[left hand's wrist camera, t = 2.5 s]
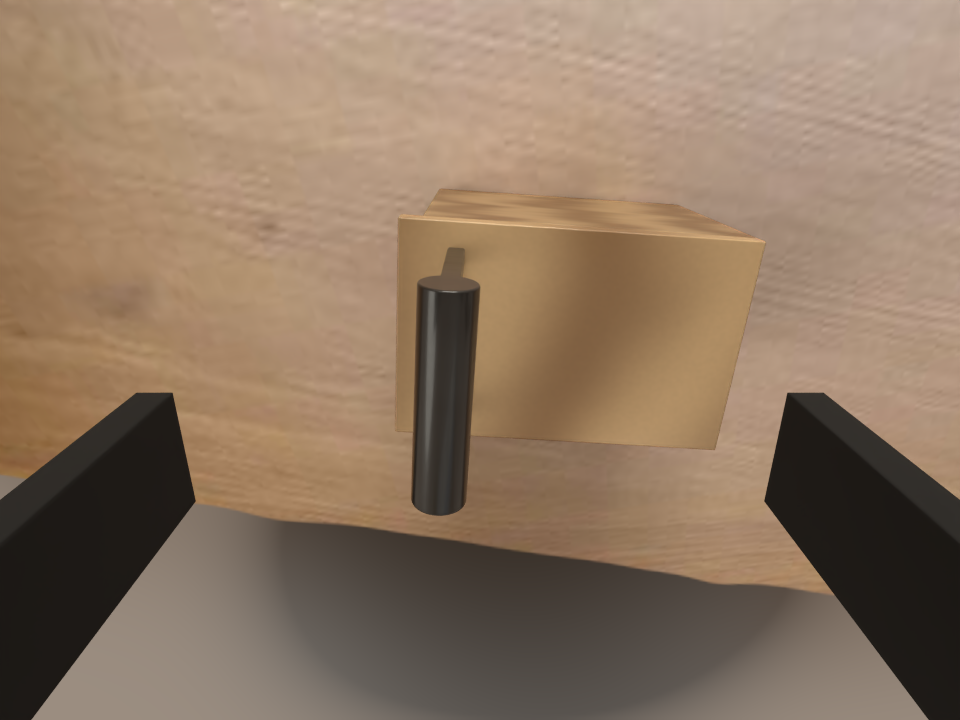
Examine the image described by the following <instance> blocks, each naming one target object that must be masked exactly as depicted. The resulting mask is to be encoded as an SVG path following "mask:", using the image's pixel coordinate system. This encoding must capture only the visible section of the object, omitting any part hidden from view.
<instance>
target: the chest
mask: <svg viewBox="0 0 960 720" xmlns="http://www.w3.org/2000/svg"><path fill="white" fill-rule="evenodd" d="M423 216H433V217H448V218H463V219H478V220H493V221H508V222H523V223H538V224H553V225H568V226H583V227H598V228H613V229H628V230H643V231H658V232H673V233H688V234H703V235H718V236H733V237H748V238H755V237H753V236H750V235H748V234H746V233H743V232H741V231H738V230H736V229H734V228H731V227H729V226H726V225H724V224H722V223H719V222H717V221H715V220H712V219H710V218H707V217H705V216H703V215H700V214H698V213H695V212H693V211H691V210H688V209H686V208H684V207H681V206H679V205H670V204H655V203H640V202H625V201H611V200H596V199H581V198H566V197H552V196H537V195H522V194H507V193H493V192H478V191H463V190H448V189H439V191H438V193H437V194H436V196H435V197H434V199H433V201H432V202H431V204H430V206H429V207H428V209H427V210H426V212H425V214H424V215H423Z"/></svg>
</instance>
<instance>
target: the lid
mask: <svg viewBox="0 0 960 720" xmlns="http://www.w3.org/2000/svg"><path fill="white" fill-rule="evenodd" d="M765 244H766V242H765V241H762V240H760V239H758V238H748V237H733V236H718V235H703V234H688V233H673V232H658V231H643V230H628V229H613V228H598V227H583V226H568V225H553V224H538V223H523V222H508V221H493V220H478V219H463V218H448V217H433V216H418V215H403V214H402V215H400V216H399V218H398V261H397V335H396V410H395V431H396V432H413V449H412V487H411V500H412V503H413V505H414V506H415V507H416V508H417V509H418V510H420V511H421V512H423V513H426V514H429V515H436V516H442V515H449V514H453V513H455V512H457V511H459V510H460V509H461V508H462V507H463V506H464V504H465V502H466V495H467V480H468V466H469V451H470V436H482V437H500V438H517V439H534V440H551V441H568V442H586V443H603V444H620V445H637V446H654V447H672V448H689V449H706V450H715V447H716V443H717V439H718V435H719V431H720V427H721V423H722V419H723V415H724V411H725V407H726V403H727V399H728V395H729V390H730V386H731V382H732V378H733V374H734V370H735V366H736V362H737V358H738V354H739V350H740V346H741V342H742V338H743V334H744V329H745V325H746V321H747V317H748V313H749V309H750V305H751V301H752V297H753V293H754V289H755V285H756V281H757V277H758V273H759V269H760V264H761V260H762V256H763V252H764V248H765Z"/></svg>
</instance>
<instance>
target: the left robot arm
mask: <svg viewBox="0 0 960 720" xmlns="http://www.w3.org/2000/svg"><path fill="white" fill-rule="evenodd" d="M195 501H196V500H195V496H194V491H193V486H192V482H191V477H190V472H189V468H188V463H187V458H186V454H185V449H184V444H183V440H182V435H181V430H180V426H179V421H178V416H177V412H176V407H175V402H174V398H173V393H136V394H134V395H133V396H132V397H131V398H129V399H128V400H127V401H126V402H124V403H123V404H122V405H120V406H119V407H118V408H117V409H115V410H114V411H113V412H112V413H110V414H109V415H108V416H106V417H105V418H104V419H103V420H101V421H100V422H99V423H98V424H96V425H95V426H94V427H92V428H91V429H90V430H89V431H87V432H86V433H85V434H83V435H82V436H81V437H80V438H78V439H77V440H76V441H75V442H73V443H72V444H71V445H69V446H68V447H67V448H66V449H64V450H63V451H62V452H61V453H59V454H58V455H57V456H55V457H54V458H53V459H52V460H50V461H49V462H48V463H47V464H45V465H44V466H43V467H41V468H40V469H39V470H38V471H36V472H35V473H34V474H33V475H31V476H30V477H29V478H27V479H26V480H25V481H24V482H22V483H21V484H20V485H19V486H17V487H16V488H15V489H13V490H12V491H11V492H10V493H8V494H7V495H6V496H5V497H3V498H2V499H1V500H0V720H31V719H32V718H33V717H34V715H35V714H36V713H37V711H38V710H39V709H40V707H41V706H42V705H43V703H44V702H45V701H46V700H47V698H48V697H49V696H50V694H51V693H52V692H53V690H54V689H55V688H56V686H57V685H58V684H59V682H60V681H61V680H62V678H63V677H64V676H65V674H66V673H67V672H68V670H69V669H70V668H71V666H72V665H73V664H74V662H75V661H76V660H77V658H78V657H79V656H80V654H81V653H82V652H83V650H84V649H85V648H86V646H87V645H88V644H89V642H90V641H91V640H92V638H93V637H94V636H95V634H96V633H97V632H98V630H99V629H100V628H101V626H102V625H103V624H104V622H105V621H106V620H107V618H108V617H109V616H110V614H111V613H112V612H113V610H114V609H115V608H116V606H117V605H118V604H119V602H120V601H121V600H122V598H123V597H124V596H125V594H126V593H127V592H128V590H129V589H130V588H131V587H132V585H133V584H134V582H135V581H136V580H137V579H138V577H139V576H140V574H141V573H142V572H143V571H144V569H145V568H146V567H147V565H148V564H149V563H150V561H151V560H152V559H153V557H154V556H155V555H156V553H157V552H158V551H159V549H160V548H161V547H162V545H163V544H164V543H165V541H166V540H167V539H168V537H169V536H170V535H171V533H172V532H173V531H174V529H175V528H176V527H177V525H178V524H179V523H180V521H181V520H182V519H183V517H184V516H185V515H186V513H187V512H188V511H189V509H190V508H191V507H192V505H193V504H194V503H195ZM764 501H765V503H766V504H767V505H768V507H769V508H770V509H771V511H772V512H773V513H774V515H775V516H776V517H777V519H778V520H779V521H780V523H781V524H782V525H783V527H784V528H785V529H786V531H787V532H788V533H789V535H790V536H791V537H792V539H793V540H794V541H795V543H796V544H797V545H798V547H799V548H800V549H801V551H802V552H803V553H804V555H805V556H806V557H807V559H808V560H809V561H810V563H811V564H812V565H813V567H814V568H815V569H816V571H817V572H818V573H819V575H820V576H821V577H822V579H823V580H824V581H825V583H826V584H827V585H828V587H829V588H830V589H831V591H832V592H833V593H834V594H835V596H836V597H837V598H838V600H839V601H840V602H841V604H842V605H843V606H844V608H845V609H846V610H847V612H848V613H849V614H850V616H851V617H852V618H853V620H854V621H855V622H856V624H857V625H858V626H859V628H860V629H861V630H862V632H863V633H864V634H865V636H866V637H867V638H868V640H869V641H870V642H871V644H872V645H873V646H874V648H875V649H876V650H877V652H878V653H879V654H880V656H881V657H882V658H883V660H884V661H885V662H886V664H887V665H888V666H889V668H890V669H891V670H892V672H893V673H894V674H895V676H896V677H897V678H898V680H899V681H900V682H901V683H902V685H903V686H904V688H905V689H906V690H907V692H908V693H909V694H910V696H911V697H912V698H913V699H914V701H915V702H916V704H917V705H918V706H919V707H920V709H921V710H922V711H923V713H924V714H925V715H926V717H927V718H928V719H929V720H960V500H959V499H958V498H957V497H955V496H954V495H953V494H952V493H950V492H949V491H948V490H947V489H945V488H944V487H943V486H941V485H940V484H939V483H938V482H936V481H935V480H934V479H933V478H931V477H930V476H929V475H927V474H926V473H925V472H924V471H922V470H921V469H920V468H919V467H917V466H916V465H915V464H913V463H912V462H911V461H910V460H908V459H907V458H906V457H905V456H903V455H902V454H901V453H899V452H898V451H897V450H896V449H894V448H893V447H892V446H891V445H889V444H888V443H887V442H885V441H884V440H883V439H882V438H880V437H879V436H878V435H877V434H875V433H874V432H873V431H871V430H870V429H869V428H868V427H866V426H865V425H864V424H862V423H861V422H860V421H859V420H857V419H856V418H855V417H854V416H852V415H851V414H850V413H848V412H847V411H846V410H845V409H843V408H842V407H841V406H840V405H838V404H837V403H836V402H834V401H833V400H832V399H831V398H829V397H828V396H827V395H826V394H824V393H787V398H786V402H785V407H784V412H783V416H782V421H781V426H780V430H779V435H778V440H777V444H776V449H775V454H774V458H773V463H772V468H771V472H770V477H769V482H768V486H767V491H766V496H765V500H764Z"/></svg>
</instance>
